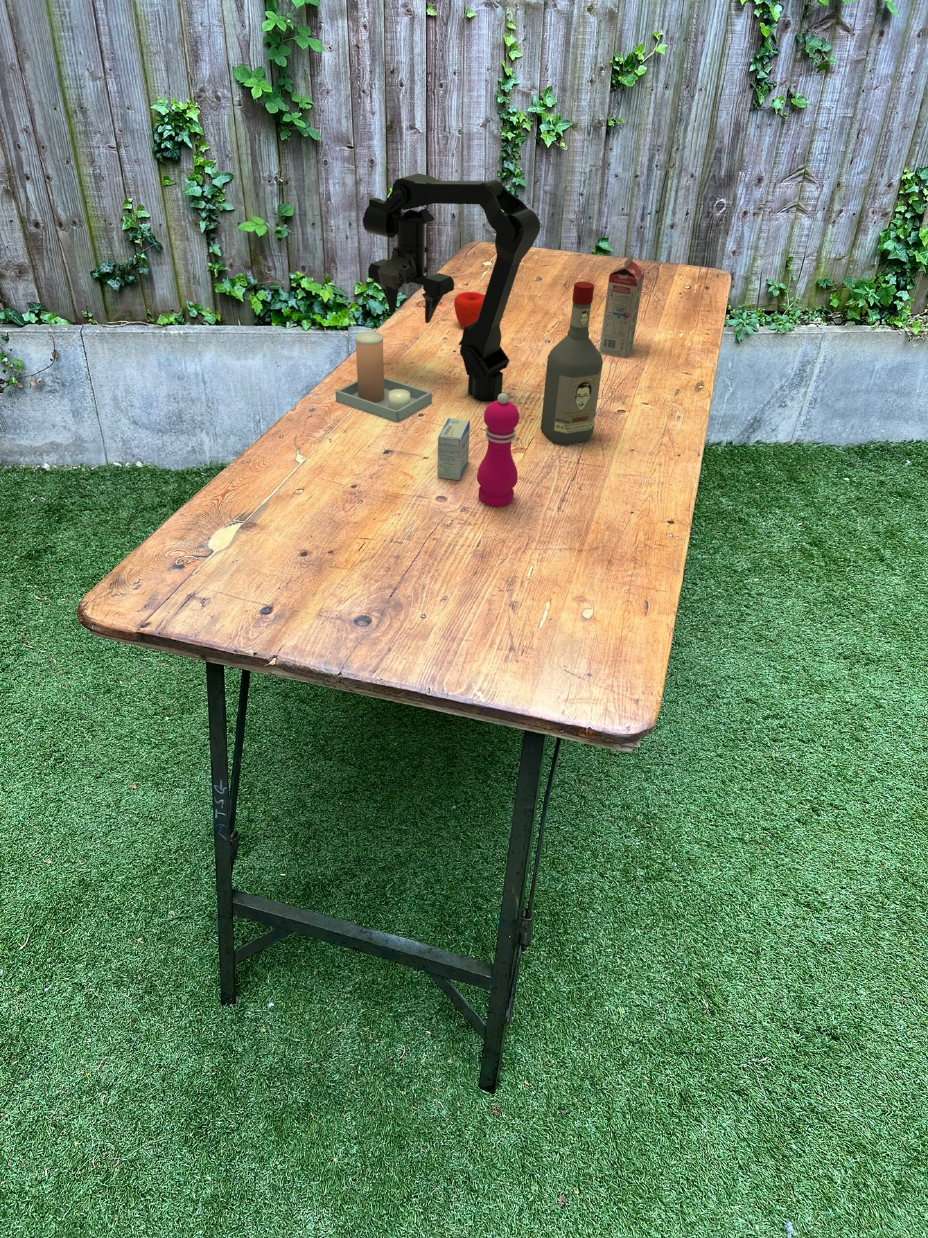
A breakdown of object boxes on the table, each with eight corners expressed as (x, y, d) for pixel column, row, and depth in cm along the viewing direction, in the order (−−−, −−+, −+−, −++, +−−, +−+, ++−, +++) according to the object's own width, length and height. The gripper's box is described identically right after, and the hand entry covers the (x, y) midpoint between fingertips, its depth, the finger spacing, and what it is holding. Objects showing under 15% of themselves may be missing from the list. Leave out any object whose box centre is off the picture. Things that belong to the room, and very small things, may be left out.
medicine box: (460, 481, 168) (462, 438, 163) (436, 478, 169) (437, 435, 164) (468, 461, 175) (470, 419, 169) (445, 458, 175) (447, 416, 170)
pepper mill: (473, 488, 167) (479, 384, 154) (513, 488, 167) (521, 384, 155) (477, 509, 161) (483, 402, 149) (518, 508, 162) (527, 402, 149)
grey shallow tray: (431, 405, 193) (431, 392, 191) (397, 426, 185) (397, 412, 183) (371, 386, 200) (371, 372, 198) (336, 404, 192) (335, 391, 190)
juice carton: (598, 353, 220) (611, 258, 207) (606, 343, 225) (619, 251, 211) (625, 358, 218) (640, 263, 205) (632, 348, 223) (647, 255, 210)
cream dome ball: (414, 406, 191) (414, 392, 189) (401, 413, 188) (401, 399, 186) (397, 400, 193) (397, 387, 191) (384, 407, 190) (384, 394, 188)
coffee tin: (390, 397, 194) (388, 336, 185) (370, 405, 190) (368, 344, 182) (372, 389, 196) (370, 329, 188) (352, 396, 193) (349, 336, 185)
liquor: (535, 428, 187) (550, 278, 168) (575, 422, 190) (593, 274, 171) (556, 448, 180) (573, 295, 162) (596, 441, 183) (618, 290, 165)
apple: (495, 325, 232) (497, 294, 227) (476, 335, 226) (478, 303, 221) (465, 317, 235) (466, 286, 231) (446, 327, 229) (447, 295, 225)
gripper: (350, 241, 186) (352, 317, 196) (424, 260, 178) (423, 338, 188) (383, 230, 194) (384, 304, 203) (456, 248, 186) (454, 323, 195)
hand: (410, 317), depth 197 cm, fingers open, 9 cm apart
